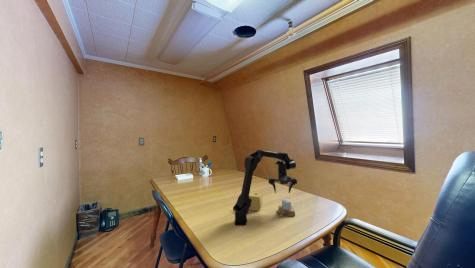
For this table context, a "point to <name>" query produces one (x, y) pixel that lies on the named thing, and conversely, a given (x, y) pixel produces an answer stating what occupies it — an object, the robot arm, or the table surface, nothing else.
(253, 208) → the cheese
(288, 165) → the robot arm
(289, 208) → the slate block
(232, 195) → the table surface
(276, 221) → the table surface
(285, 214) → the pedestal
